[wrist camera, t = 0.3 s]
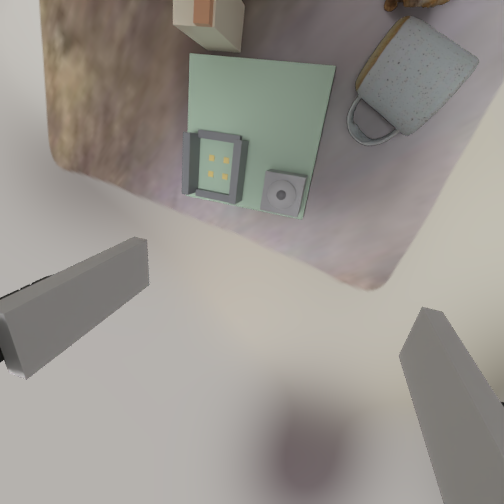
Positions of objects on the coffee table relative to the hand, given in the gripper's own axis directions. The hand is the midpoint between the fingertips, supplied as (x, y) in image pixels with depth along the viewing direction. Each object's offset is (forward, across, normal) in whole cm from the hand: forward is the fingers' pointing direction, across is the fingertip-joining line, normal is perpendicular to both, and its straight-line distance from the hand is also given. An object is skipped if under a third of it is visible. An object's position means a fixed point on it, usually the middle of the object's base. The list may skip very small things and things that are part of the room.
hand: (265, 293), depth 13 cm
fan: (+26, -3, 0) cm, 26 cm away
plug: (+27, -14, +18) cm, 35 cm away
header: (+26, -13, +2) cm, 29 cm away
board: (+27, -9, +6) cm, 29 cm away
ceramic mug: (+27, +7, +12) cm, 30 cm away
